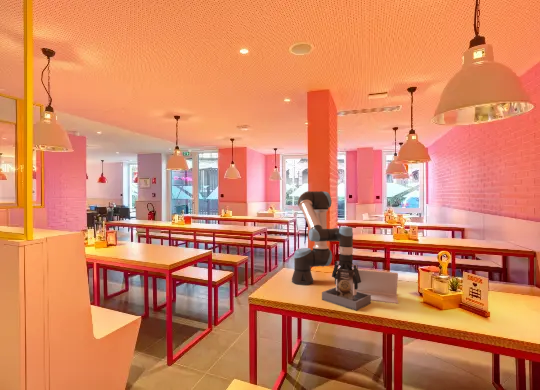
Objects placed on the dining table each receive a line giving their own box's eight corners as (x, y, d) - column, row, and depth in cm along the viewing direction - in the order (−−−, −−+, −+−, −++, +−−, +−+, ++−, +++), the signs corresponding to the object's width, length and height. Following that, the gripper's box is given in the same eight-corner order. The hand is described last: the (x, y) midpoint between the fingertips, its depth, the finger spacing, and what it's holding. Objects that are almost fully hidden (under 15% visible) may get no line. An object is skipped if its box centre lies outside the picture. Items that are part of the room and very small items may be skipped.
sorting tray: (322, 299, 162) (322, 292, 162) (337, 293, 173) (337, 286, 173) (356, 310, 146) (356, 302, 146) (370, 303, 157) (370, 295, 157)
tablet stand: (398, 304, 156) (398, 273, 157) (352, 298, 165) (352, 269, 165) (395, 294, 173) (395, 266, 174) (354, 289, 182) (354, 263, 182)
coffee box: (336, 297, 159) (336, 269, 159) (339, 294, 164) (339, 267, 165) (352, 300, 154) (352, 271, 155) (355, 297, 160) (355, 268, 160)
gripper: (325, 251, 166) (325, 289, 165) (360, 257, 149) (360, 299, 149) (332, 250, 171) (332, 286, 171) (367, 255, 154) (367, 295, 154)
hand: (345, 292), depth 160 cm, fingers closed on coffee box, 10 cm apart
